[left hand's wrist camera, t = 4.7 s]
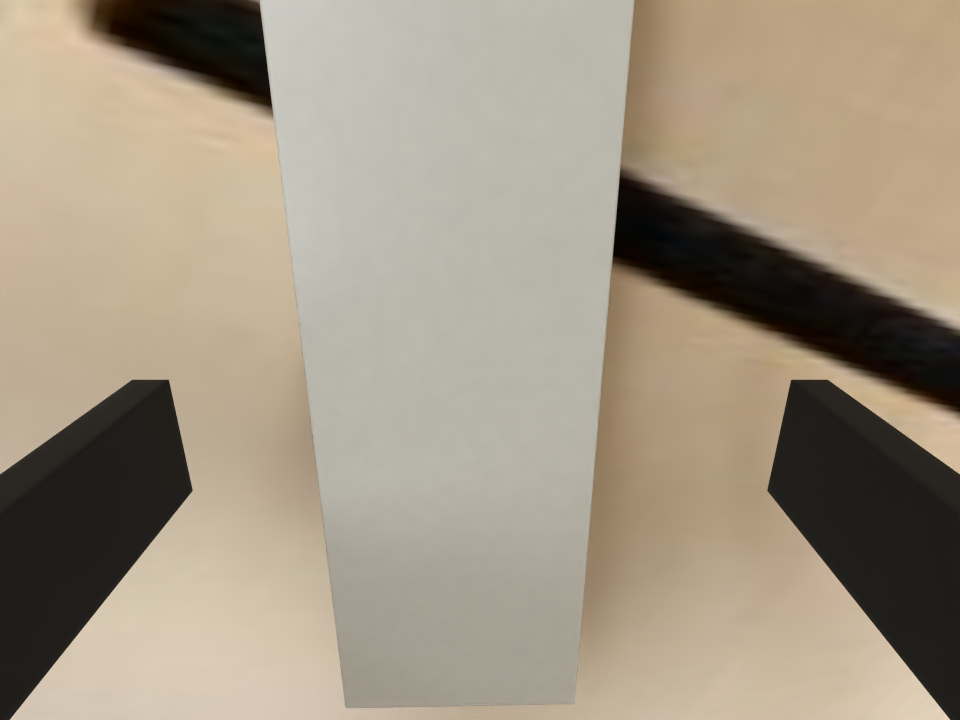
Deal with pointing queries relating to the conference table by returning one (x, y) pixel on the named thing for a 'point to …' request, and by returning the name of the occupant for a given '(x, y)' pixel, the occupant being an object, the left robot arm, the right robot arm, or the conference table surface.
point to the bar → (452, 324)
